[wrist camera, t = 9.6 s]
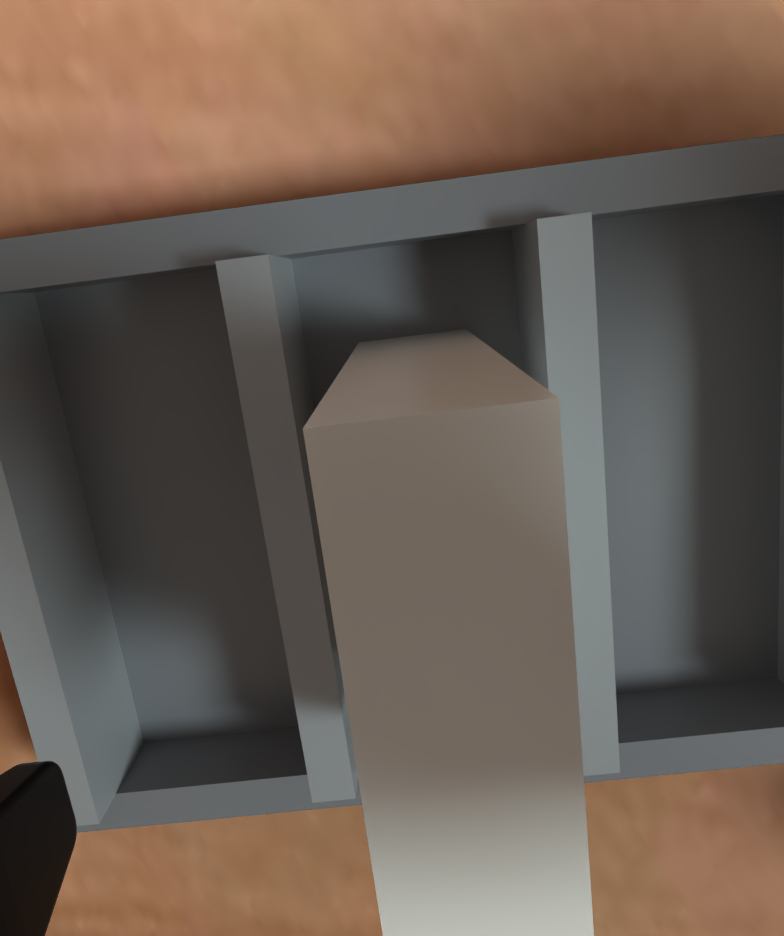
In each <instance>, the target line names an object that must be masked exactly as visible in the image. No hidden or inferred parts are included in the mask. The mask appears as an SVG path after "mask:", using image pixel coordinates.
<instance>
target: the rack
mask: <svg viewBox="0 0 784 936" xmlns="http://www.w3.org/2000/svg"><path fill="white" fill-rule="evenodd" d="M462 329H466V330H468V331H469V332H471V333H472V334H473V335H475V336H476V337H477V338H479V339H480V340H481V341H483V342H484V343H485V344H487V345H488V346H489V347H491V348H492V349H493V350H495V351H496V352H497V353H499V354H500V355H502V356H503V357H504V358H506V359H507V360H508V361H510V362H511V363H512V364H514V365H515V366H516V367H518V368H519V369H520V370H522V371H523V372H524V373H526V374H527V375H529V376H530V377H531V378H533V379H534V380H535V381H537V382H538V383H539V384H541V385H542V386H543V387H545V388H546V389H547V390H549V391H550V392H551V393H553V394H554V395H555V396H557V397H558V398H559V409H560V424H561V440H562V455H563V470H564V486H565V501H566V516H567V531H568V547H569V562H570V577H571V593H572V608H573V623H574V639H575V654H576V669H577V685H578V700H579V715H580V730H581V746H582V761H583V776H584V783H587V782H597V781H607V780H618V779H628V778H638V777H648V776H658V775H668V774H679V773H689V772H699V771H709V770H719V769H730V768H740V767H750V766H760V765H770V764H781V763H784V134H782V135H774V136H767V137H759V138H752V139H744V140H737V141H730V142H722V143H715V144H707V145H700V146H692V147H685V148H677V149H670V150H662V151H655V152H647V153H640V154H633V155H625V156H618V157H610V158H603V159H595V160H588V161H580V162H573V163H565V164H558V165H550V166H543V167H536V168H528V169H521V170H513V171H506V172H498V173H491V174H483V175H476V176H468V177H461V178H453V179H446V180H439V181H431V182H424V183H416V184H409V185H401V186H394V187H386V188H379V189H371V190H364V191H357V192H349V193H342V194H334V195H327V196H319V197H312V198H304V199H297V200H289V201H282V202H274V203H267V204H260V205H252V206H245V207H237V208H230V209H222V210H215V211H207V212H200V213H192V214H185V215H177V216H170V217H163V218H155V219H148V220H140V221H133V222H125V223H118V224H110V225H103V226H95V227H88V228H81V229H73V230H66V231H58V232H51V233H43V234H36V235H28V236H21V237H13V238H6V239H0V632H1V635H2V639H3V642H4V646H5V649H6V652H7V656H8V659H9V663H10V666H11V670H12V673H13V677H14V680H15V684H16V687H17V691H18V694H19V697H20V701H21V704H22V708H23V711H24V715H25V718H26V722H27V725H28V729H29V732H30V736H31V739H32V742H33V746H34V749H35V753H36V756H37V760H38V762H42V761H53V762H55V763H57V764H58V765H59V767H60V768H61V770H62V773H63V776H64V779H65V783H66V786H67V790H68V793H69V797H70V801H71V804H72V808H73V811H74V815H75V818H76V826H77V833H78V832H88V831H98V830H108V829H118V828H129V827H139V826H149V825H159V824H169V823H180V822H190V821H200V820H210V819H220V818H230V817H241V816H251V815H261V814H271V813H281V812H292V811H302V810H312V809H322V808H332V807H342V806H353V805H362V800H361V794H360V787H359V781H358V775H357V768H356V762H355V756H354V749H353V743H352V737H351V731H350V724H349V718H348V712H347V705H346V699H345V693H344V686H343V680H342V674H341V667H340V661H339V655H338V648H337V642H336V636H335V630H334V623H333V617H332V611H331V604H330V598H329V592H328V585H327V579H326V573H325V566H324V560H323V554H322V547H321V541H320V535H319V529H318V522H317V516H316V510H315V503H314V497H313V491H312V484H311V478H310V472H309V465H308V459H307V453H306V446H305V440H304V434H303V427H304V426H305V424H306V423H307V421H308V420H309V418H310V417H311V415H312V414H313V412H314V411H315V409H316V408H317V406H318V404H319V403H320V401H321V400H322V398H323V397H324V395H325V394H326V392H327V391H328V389H329V388H330V386H331V385H332V383H333V381H334V380H335V378H336V377H337V375H338V374H339V372H340V371H341V369H342V368H343V366H344V365H345V363H346V362H347V360H348V358H349V357H350V355H351V354H352V352H353V351H354V349H355V348H356V346H357V345H358V343H359V342H366V341H374V340H382V339H390V338H398V337H406V336H414V335H422V334H430V333H438V332H446V331H454V330H462Z"/></svg>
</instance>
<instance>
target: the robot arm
mask: <svg viewBox="0 0 784 936" xmlns="http://www.w3.org/2000/svg"><path fill="white" fill-rule="evenodd" d="M76 834H77V826H76V818H75V815H74V811H73V808H72V804H71V801H70V797H69V793H68V790H67V786H66V783H65V779H64V776H63V773H62V770H61V768H60V767H59V765H58V764H57V763H55V762H53V761H42V762H33V763H23V764H19V765H16V766H14V767H12V768H11V769H9V770H8V771H6V772H4V773H3V774H1V775H0V936H45V934H46V931H47V928H48V924H49V921H50V918H51V915H52V912H53V909H54V906H55V903H56V900H57V897H58V894H59V891H60V888H61V885H62V882H63V879H64V876H65V873H66V870H67V867H68V864H69V861H70V858H71V855H72V852H73V849H74V845H75V841H76Z"/></svg>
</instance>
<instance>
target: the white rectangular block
mask: <svg viewBox="0 0 784 936" xmlns="http://www.w3.org/2000/svg"><path fill="white" fill-rule="evenodd" d="M303 434H304V440H305V446H306V453H307V459H308V465H309V472H310V478H311V484H312V491H313V497H314V503H315V510H316V516H317V522H318V529H319V535H320V541H321V547H322V554H323V560H324V566H325V573H326V579H327V585H328V592H329V598H330V604H331V611H332V617H333V623H334V630H335V636H336V642H337V648H338V655H339V661H340V667H341V674H342V680H343V686H344V693H345V699H346V705H347V712H348V718H349V724H350V731H351V737H352V743H353V749H354V756H355V762H356V768H357V775H358V781H359V787H360V794H361V800H362V806H363V813H364V819H365V825H366V832H367V838H368V844H369V850H370V857H371V863H372V869H373V876H374V882H375V888H376V895H377V901H378V907H379V914H380V920H381V926H382V932H383V936H594V929H593V914H592V899H591V883H590V868H589V853H588V838H587V822H586V807H585V792H584V776H583V761H582V746H581V730H580V715H579V700H578V685H577V669H576V654H575V639H574V623H573V608H572V593H571V577H570V562H569V547H568V531H567V516H566V501H565V486H564V470H563V455H562V440H561V424H560V409H559V398H558V397H557V396H555V395H554V394H553V393H551V392H550V391H549V390H547V389H546V388H545V387H543V386H542V385H541V384H539V383H538V382H537V381H535V380H534V379H533V378H531V377H530V376H529V375H527V374H526V373H524V372H523V371H522V370H520V369H519V368H518V367H516V366H515V365H514V364H512V363H511V362H510V361H508V360H507V359H506V358H504V357H503V356H502V355H500V354H499V353H497V352H496V351H495V350H493V349H492V348H491V347H489V346H488V345H487V344H485V343H484V342H483V341H481V340H480V339H479V338H477V337H476V336H475V335H473V334H472V333H471V332H469V331H468V330H466V329H462V330H454V331H446V332H438V333H430V334H422V335H414V336H406V337H398V338H390V339H382V340H374V341H366V342H359V343H358V345H357V346H356V348H355V349H354V351H353V352H352V354H351V355H350V357H349V358H348V360H347V362H346V363H345V365H344V366H343V368H342V369H341V371H340V372H339V374H338V375H337V377H336V378H335V380H334V381H333V383H332V385H331V386H330V388H329V389H328V391H327V392H326V394H325V395H324V397H323V398H322V400H321V401H320V403H319V404H318V406H317V408H316V409H315V411H314V412H313V414H312V415H311V417H310V418H309V420H308V421H307V423H306V424H305V426H304V427H303Z"/></svg>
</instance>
